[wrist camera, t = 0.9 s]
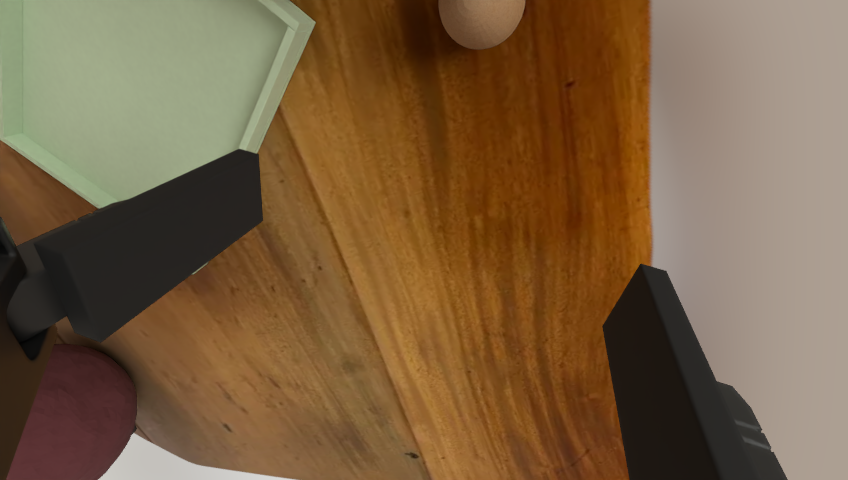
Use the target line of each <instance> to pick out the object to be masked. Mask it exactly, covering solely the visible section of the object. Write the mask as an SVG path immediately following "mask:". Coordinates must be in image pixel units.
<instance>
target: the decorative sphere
mask: <svg viewBox="0 0 848 480" xmlns="http://www.w3.org/2000/svg"><path fill="white" fill-rule="evenodd" d="M136 415H137V395H136V391H135V388H134V385H133V382H132V380H131V379H130V377H129V376H128V374H127V373H126V371H125V370H124V369H123V368H121V367H120V366H119V365H118V364H117V363H116V362H114V361H113V360H112V359H111V358H110V357H109V356H107V355H106V354H103V353H100V352H98V351H96V350H94V349H92V348H89V347H84V346H79V345H73V344H54V346H53V349H52V352H51V355H50V358H49V360H48V363H47V366H46V369H45V372H44V374H43V377H42V380H41V383H40V386H39V388H38V391H37V394H36V397H35V400H34V403H33V405H32V408H31V411H30V414H29V417H28V419H27V422H26V425H25V428H24V431H23V433H22V436H21V439H20V442H19V445H18V447H17V450H16V453H15V456H14V459H13V461H12V464H11V467H10V470H9V473H8V476H7V478H6V480H98V479H99V478H100V477H101V476H102V475H103V474H104V473H106V471H107V470H108V469H109V468H110V466H111V465H112V464H113V463H114V462H115V460H116V459H117V458H118V457H119V455H120V454H121V452H122V451H123V449H124V448H125V446H126V445H127V443H128V441H129V439H130V437H131V434H132V431H133V429H134V426H135V419H136Z"/></svg>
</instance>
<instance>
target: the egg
mask: <svg viewBox="0 0 848 480" xmlns="http://www.w3.org/2000/svg"><path fill="white" fill-rule="evenodd" d="M524 8H525V0H439V13H440V18H441V21H442V24H443V26H444V28H445V30H446V32H447V33H448V34H449V35H450V37H451V38H452V39H453V40H454V41H456V42H457V43H458V44H460V45H462V46H464V47H466V48H470V49H486V48H491V47H493V46H496V45H498V44H500V43H501V42H503V41H504V40H506V39H507V38H508V37H509V36H510V35H511V34H512V33H513V31H514V30H515V28H516V27H517V26H518V24H519V22H520V20H521V18H522V14H523V11H524Z"/></svg>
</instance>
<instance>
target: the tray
mask: <svg viewBox="0 0 848 480" xmlns="http://www.w3.org/2000/svg"><path fill="white" fill-rule="evenodd" d="M315 23H316V22H315V21H314V20H313V19H311V18H310V17H309V16H308V15H307V14H305V13H304V12H303V11H302V10H301V9H299V8H298V7H297V6H296V5H295V4H293V3H292V2H291V1H290V0H0V140H2V141H3V142H4V143H6V144H7V145H9V146H10V147H11V148H13V149H14V150H16V151H17V152H19V153H20V154H21V155H23V156H24V157H26V158H27V159H29V160H30V161H31V162H33V163H34V164H36V165H37V166H38V167H40V168H41V169H43V170H44V171H46V172H47V173H48V174H50V175H51V176H53V177H54V178H56V179H57V180H58V181H60V182H61V183H63V184H64V185H66V186H67V187H68V188H70V189H71V190H73V191H74V192H75V193H77V194H78V195H80V196H81V197H83V198H84V199H85V200H87V201H88V202H90V203H91V204H93V205H94V206H95V207H97V208H98V209H100V208H102V207H105V206H107V205H109V204H111V203H115V202H119V201H123V200H127V199H130V198H133V197H135V196H137V195H139V194H141V193H143V192H146V191H148V190H150V189H152V188H154V187H157V186H159V185H161V184H163V183H165V182H167V181H170V180H172V179H174V178H176V177H178V176H181V175H183V174H185V173H187V172H189V171H191V170H194V169H196V168H198V167H200V166H202V165H205V164H207V163H209V162H211V161H213V160H215V159H218V158H220V157H222V156H224V155H226V154H229V153H231V152H233V151H235V150H237V149H242V150H246V151H249V152H253V153H256V154H257V153H258V150H259V148H260V146H261V144H262V141H263V139H264V137H265V135H266V133H267V130H268V128H269V126H270V124H271V121H272V119H273V117H274V115H275V112H276V110H277V108H278V106H279V104H280V101H281V99H282V97H283V95H284V92H285V90H286V88H287V86H288V83H289V81H290V79H291V77H292V75H293V72H294V70H295V68H296V66H297V63H298V61H299V59H300V57H301V54H302V52H303V50H304V48H305V46H306V43H307V41H308V39H309V37H310V34H311V32H312V30H313V28H314V25H315ZM207 264H208V262H207V263H206V264H205V265H207ZM205 265H203V266H202V267H201V268H203V267H204V266H205ZM201 268H199V269H198V270H197V271H199V270H200V269H201ZM197 271H195V272H194V273H193V274H195V273H196V272H197ZM193 274H192V275H193Z"/></svg>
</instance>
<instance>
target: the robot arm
mask: <svg viewBox="0 0 848 480" xmlns="http://www.w3.org/2000/svg"><path fill="white" fill-rule="evenodd" d="M262 221H263V214H262V199H261V184H260V169H259V154H256V153H253V152H249V151H246V150H242V149H237V150H235V151H233V152H231V153H229V154H226V155H224V156H222V157H220V158H218V159H215V160H213V161H211V162H209V163H207V164H205V165H202V166H200V167H198V168H196V169H194V170H191V171H189V172H187V173H185V174H183V175H181V176H178V177H176V178H174V179H172V180H170V181H167V182H165V183H163V184H161V185H159V186H157V187H154V188H152V189H150V190H148V191H146V192H143V193H141V194H139V195H137V196H135V197H133V198H130V199H127V200H123V201H119V202H115V203H111V204H109V205H107V206H105V207H102V208H100V209H98V210H96V211H94V213H93V214H91V213H89V214H87V215H85V216H82V217H80V218H78V220H77V221H75V220H74V221H71V222H69V223H67V224H65V225H62V226H60V227H58V228H56V229H54V230H51V231H49V232H47V233H45V234H42V235H40V236H38V237H36V238H33V239H31V240H29V241H27V242H25V243H22V244H20V245H18V246H16V245H15V243H14V241H13V239H12V237H11V235H10V233H9V231H8V229H7V227H6V225H5V223H4V221H3V219H2V218H1V217H0V480H6V478H7V476H8V473H9V470H10V467H11V464H12V461H13V459H14V456H15V453H16V450H17V447H18V445H19V442H20V439H21V436H22V433H23V431H24V428H25V425H26V422H27V419H28V417H29V414H30V411H31V408H32V405H33V403H34V400H35V397H36V394H37V391H38V388H39V386H40V383H41V380H42V377H43V374H44V372H45V369H46V366H47V363H48V360H49V358H50V355H51V352H52V349H53V346H54V344H55V341H56V338H57V327H56V325H55V323H56V322H58V321H59V320H61V319H62V318H64V317H66V316H67V317H68V319H69V321H70V323H71V326H72V328H73V330H74V332H75V333H77V334H79V335H82V336H85V337H87V338H90V339H93V340H95V341H98V342H100V343H101V342H102V341H103V340H105V339H106V338H107V337H109V336H110V335H111V334H113V333H114V332H115V331H117V330H118V329H119V328H121V327H122V326H123V325H125V324H126V323H127V322H129V321H130V320H131V319H133V318H134V317H135V316H137V315H138V314H139V313H141V312H142V311H143V310H145V309H146V308H147V307H149V306H150V305H151V304H153V303H154V302H155V301H157V300H158V299H159V298H161V297H162V296H163V295H165V294H166V293H167V292H169V291H170V290H171V289H173V288H174V287H175V286H177V285H178V284H179V283H181V282H182V281H183V280H185V279H186V278H187V277H189V276H190V275H191V274H193V273H194V272H195V271H197V270H198V269H199V268H201V267H202V266H203V265H205V264H206V263H207V262H209V261H210V260H211V259H213V258H214V257H215V256H217V255H218V254H219V253H221V252H222V251H223V250H225V249H226V248H227V247H229V246H230V245H231V244H233V243H234V242H235V241H237V240H238V239H239V238H241V237H242V236H243V235H245V234H246V233H247V232H249V231H250V230H251V229H253V228H254V227H255V226H257V225H258V224H259V223H261V222H262ZM603 332H604V338H605V343H606V349H607V355H608V360H609V366H610V372H611V377H612V383H613V388H614V394H615V400H616V405H617V411H618V417H619V422H620V428H621V434H622V439H623V445H624V450H625V456H626V462H627V467H628V473H629V479H630V480H787V477H786V476H785V474H784V472H783V470H782V468H781V466H780V464H779V462H778V460H777V458H776V456H775V454H774V452H771V450H770V449H771V446H770V444H769V442H768V441H767V438H766V436H765V435H764V434H763V433H761V430H762V429H761V427H760V425H759V423H758V421H757V419H756V417H755V415H754V413H753V411H752V409H751V407H750V406H749V405H748V404H747V403H746V402H745V400H744V399H743V398H742V397H741V396H740V395H739V394H738V393H737V391H736V390H735V389H734V388H733V387H732V386H730V385H727V384H723V383H720V382H717V381H716V379H715V377H714V375H713V372H712V370H711V368H710V366H709V364H708V361H707V359H706V357H705V355H704V353H703V351H702V348H701V346H700V344H699V342H698V340H697V338H696V335H695V333H694V331H693V329H692V327H691V324H690V322H689V320H688V318H687V316H686V313H685V311H684V309H683V307H682V305H681V302H680V300H679V298H678V296H677V294H676V291H675V289H674V287H673V285H672V283H671V281H670V278H669V276H668V274H667V272H666V271H664V270H660V269H657V268H654V267H650V266H647V265H643V264H640V265H639V267H638V269H637V270H636V272H635V274H634V275H633V277H632V279H631V280H630V282H629V283H628V285H627V287H626V288H625V290H624V292H623V293H622V295H621V297H620V298H619V300H618V302H617V303H616V305H615V307H614V308H613V310H612V311H611V313H610V315H609V316H608V318H607V320H606V321H605V323H604V325H603Z"/></svg>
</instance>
